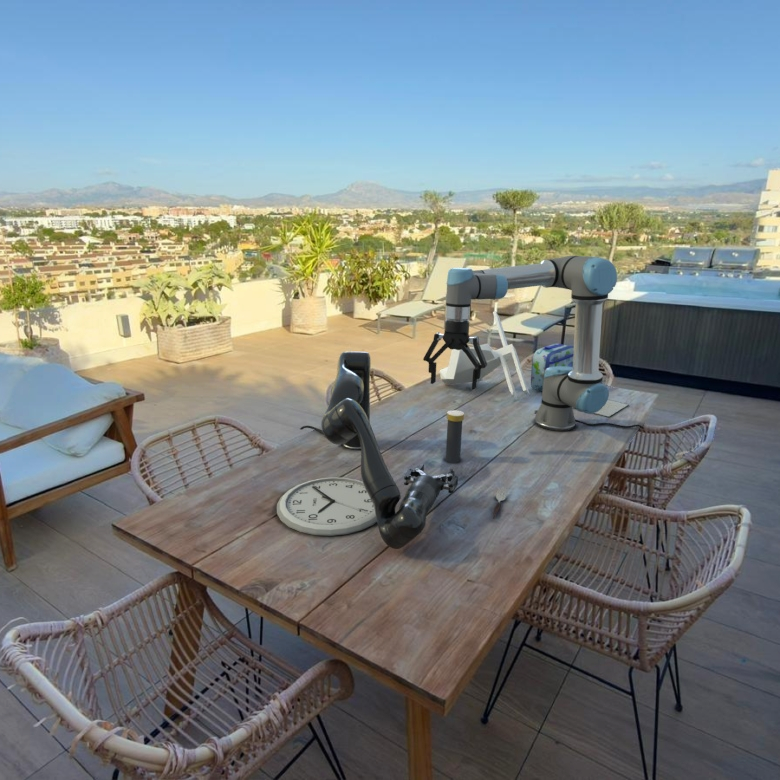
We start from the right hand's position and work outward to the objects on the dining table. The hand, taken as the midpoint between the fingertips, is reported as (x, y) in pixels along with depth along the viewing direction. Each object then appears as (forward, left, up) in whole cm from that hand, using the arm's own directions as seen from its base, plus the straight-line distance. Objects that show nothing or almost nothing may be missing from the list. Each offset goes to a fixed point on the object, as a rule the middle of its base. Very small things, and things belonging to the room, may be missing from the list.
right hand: (453, 385), depth 167 cm
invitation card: (-65, -62, -25) cm, 93 cm away
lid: (-1, +2, -9) cm, 9 cm away
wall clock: (+31, +37, -25) cm, 55 cm away
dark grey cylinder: (-1, +2, -25) cm, 25 cm away
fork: (-14, +31, -25) cm, 42 cm away
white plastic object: (-13, -74, -25) cm, 79 cm away
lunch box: (-48, -87, -25) cm, 102 cm away
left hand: (+4, +24, -18) cm, 30 cm away
